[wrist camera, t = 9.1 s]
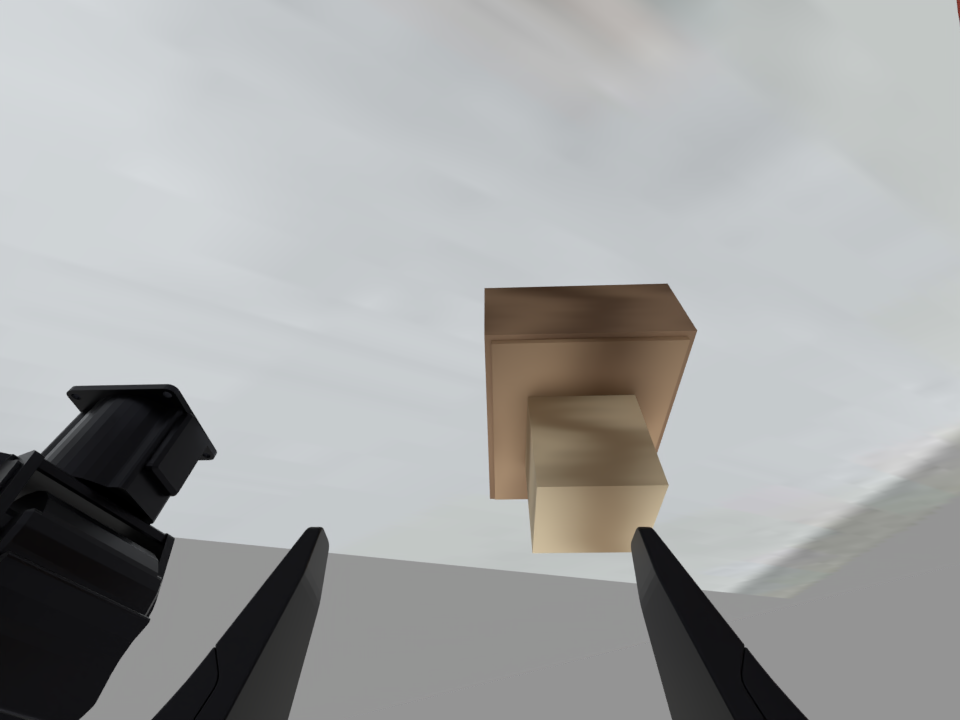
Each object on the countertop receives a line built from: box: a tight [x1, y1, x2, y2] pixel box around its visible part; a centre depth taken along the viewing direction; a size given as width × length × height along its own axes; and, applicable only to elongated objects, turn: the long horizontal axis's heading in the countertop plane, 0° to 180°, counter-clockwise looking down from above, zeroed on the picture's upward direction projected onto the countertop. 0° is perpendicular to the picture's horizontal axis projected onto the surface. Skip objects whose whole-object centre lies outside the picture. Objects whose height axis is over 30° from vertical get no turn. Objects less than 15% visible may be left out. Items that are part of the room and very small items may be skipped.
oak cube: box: [525, 395, 669, 553], centre depth 21 cm, size 5×5×5 cm
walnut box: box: [484, 283, 697, 500], centre depth 24 cm, size 9×12×4 cm
